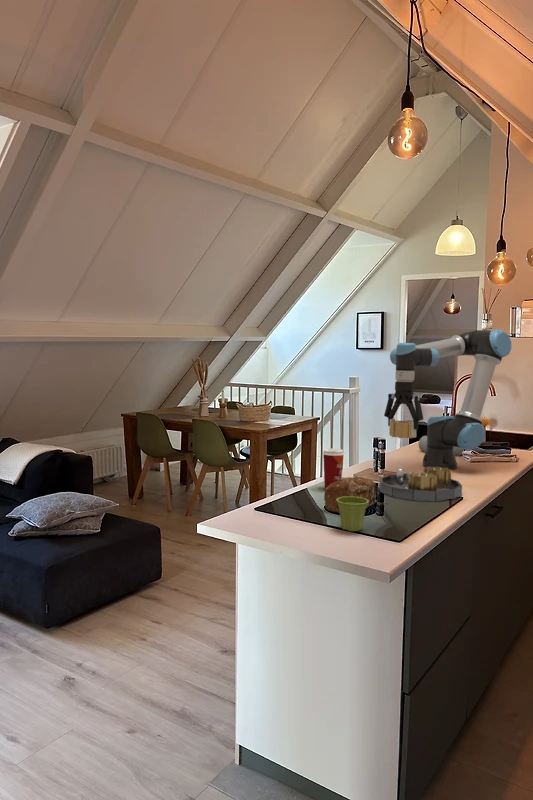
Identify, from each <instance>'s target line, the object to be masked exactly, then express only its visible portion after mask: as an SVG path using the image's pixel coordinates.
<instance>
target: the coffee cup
mask: <svg viewBox="0 0 533 800" xmlns="http://www.w3.org/2000/svg"><path fill="white" fill-rule="evenodd" d="M322 455H323V480H324V491H325V490H326V488H327V487H328V486H329V485H330V484H332V483H333V482H337V481H339V480H342V479H343V465H344V455H345V453H344V450H343V449H341V448H325V449H323V452H322Z"/></svg>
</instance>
